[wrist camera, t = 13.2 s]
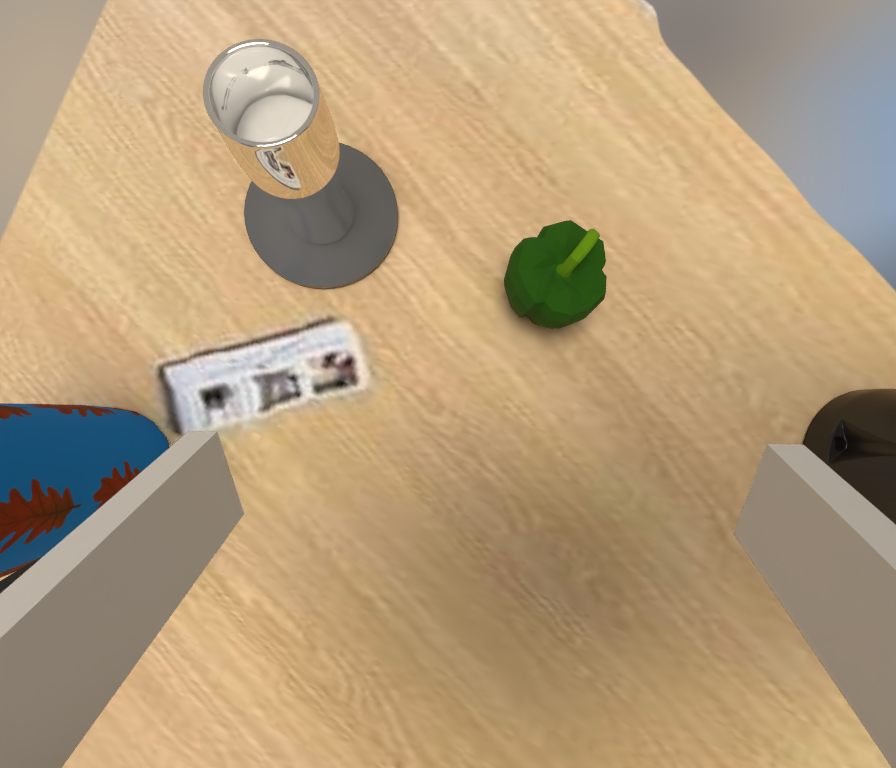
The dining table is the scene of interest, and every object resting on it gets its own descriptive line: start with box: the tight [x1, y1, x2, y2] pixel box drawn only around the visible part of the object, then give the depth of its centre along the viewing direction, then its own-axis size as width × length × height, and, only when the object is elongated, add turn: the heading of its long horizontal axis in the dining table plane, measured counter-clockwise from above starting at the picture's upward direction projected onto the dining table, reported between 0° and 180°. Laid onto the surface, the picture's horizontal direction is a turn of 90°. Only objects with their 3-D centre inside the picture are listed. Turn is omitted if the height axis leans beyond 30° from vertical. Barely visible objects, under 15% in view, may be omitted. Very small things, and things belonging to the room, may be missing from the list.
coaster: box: [244, 143, 398, 289], centre depth 40 cm, size 14×14×1 cm
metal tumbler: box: [203, 39, 354, 245], centre depth 32 cm, size 7×7×15 cm
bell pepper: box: [504, 220, 606, 328], centre depth 36 cm, size 8×8×10 cm
